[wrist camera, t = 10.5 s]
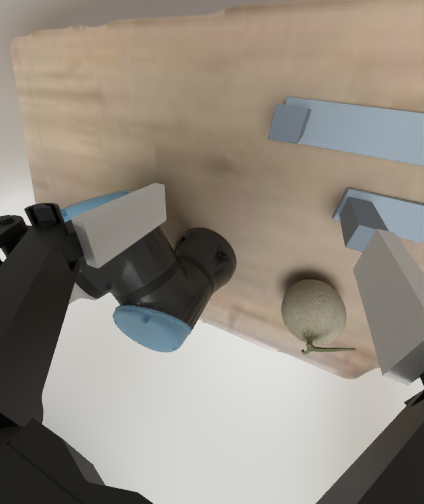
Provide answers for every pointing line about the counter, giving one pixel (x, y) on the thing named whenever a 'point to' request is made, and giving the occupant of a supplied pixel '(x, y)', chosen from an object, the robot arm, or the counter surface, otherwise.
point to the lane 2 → (377, 217)
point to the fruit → (314, 314)
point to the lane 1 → (351, 129)
